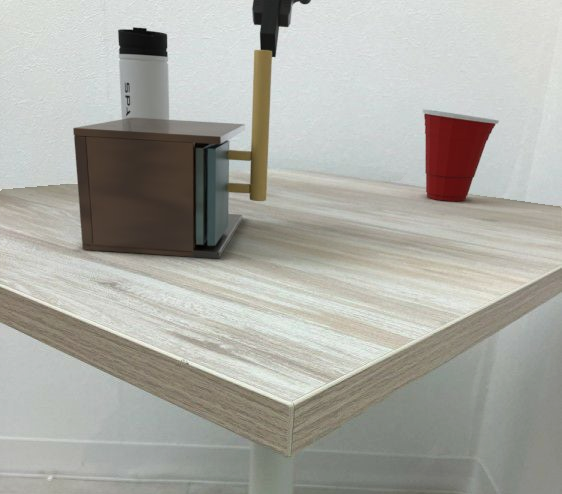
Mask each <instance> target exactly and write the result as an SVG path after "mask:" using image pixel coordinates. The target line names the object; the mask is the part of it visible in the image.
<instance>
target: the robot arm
mask: <svg viewBox="0 0 562 494" xmlns="http://www.w3.org/2000/svg"><path fill="white" fill-rule="evenodd" d="M311 1H312V0H252V7H251V13H252V22H253V25H254V26H260V29H259V43H260V44H259V47H260V49H259V50H269V51H272V58H276V57H277V50H278V40H279V32H280V28H289V27H290V25H291V24H292V23H291V21H292V15H293V14H292V12H293V6H294V4H296V3H300V4H301V5H309V4H310V3H311Z"/></svg>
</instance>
